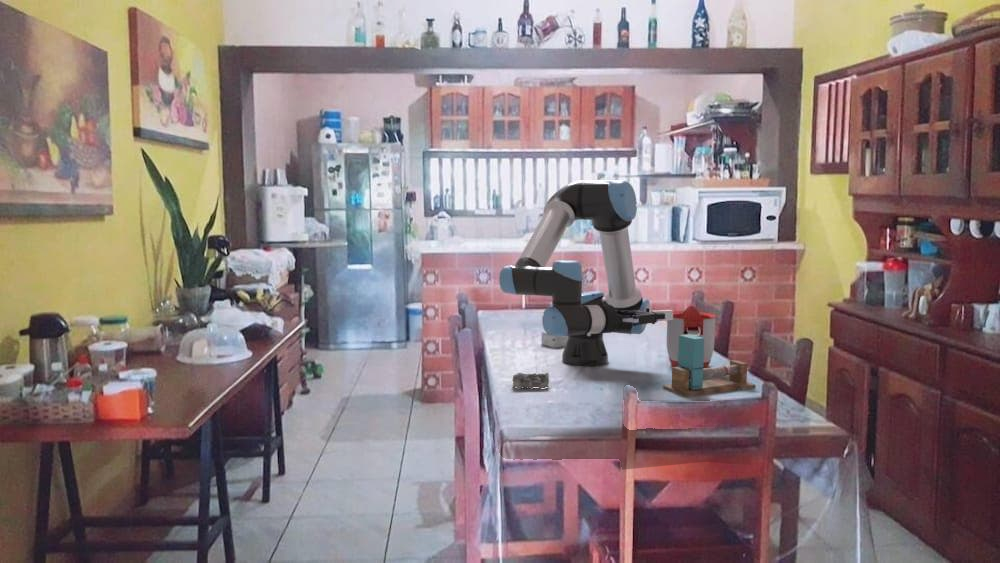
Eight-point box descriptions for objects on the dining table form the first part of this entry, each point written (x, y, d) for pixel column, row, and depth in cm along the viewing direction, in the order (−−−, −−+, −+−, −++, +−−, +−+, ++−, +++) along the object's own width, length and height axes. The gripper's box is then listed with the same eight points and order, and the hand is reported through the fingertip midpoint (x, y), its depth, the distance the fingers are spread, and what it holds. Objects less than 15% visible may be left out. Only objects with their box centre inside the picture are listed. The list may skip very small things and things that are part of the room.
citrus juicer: (667, 372, 236) (669, 309, 234) (663, 360, 253) (664, 301, 251) (718, 373, 234) (720, 310, 232) (710, 361, 251) (712, 302, 249)
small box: (540, 344, 280) (540, 331, 280) (556, 342, 285) (557, 328, 284) (554, 348, 274) (554, 334, 274) (570, 345, 279) (570, 332, 278)
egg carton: (511, 390, 215) (511, 376, 215) (513, 383, 223) (513, 370, 222) (548, 391, 214) (548, 376, 214) (549, 384, 221) (549, 370, 221)
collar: (692, 389, 210) (694, 339, 208) (677, 384, 216) (679, 335, 214) (702, 388, 211) (704, 338, 210) (687, 383, 217) (688, 334, 216)
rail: (685, 396, 207) (686, 373, 206) (663, 388, 216) (663, 365, 215) (755, 387, 217) (756, 364, 217) (731, 379, 226) (732, 358, 226)
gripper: (585, 329, 205) (656, 324, 215) (611, 337, 193) (686, 331, 203) (586, 302, 204) (657, 298, 214) (612, 308, 193) (686, 304, 202)
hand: (671, 314), depth 209 cm, fingers closed
